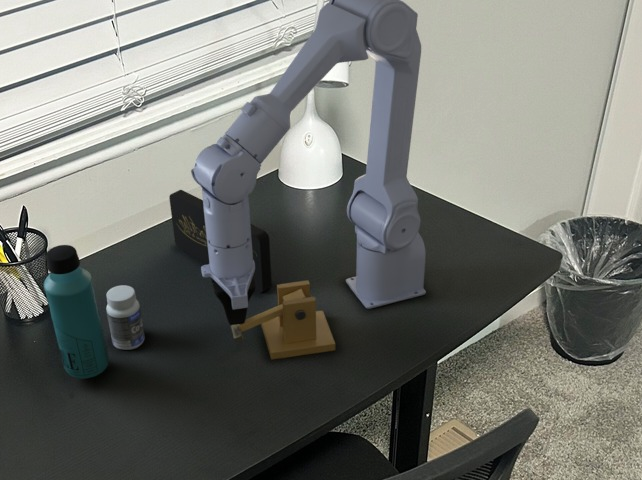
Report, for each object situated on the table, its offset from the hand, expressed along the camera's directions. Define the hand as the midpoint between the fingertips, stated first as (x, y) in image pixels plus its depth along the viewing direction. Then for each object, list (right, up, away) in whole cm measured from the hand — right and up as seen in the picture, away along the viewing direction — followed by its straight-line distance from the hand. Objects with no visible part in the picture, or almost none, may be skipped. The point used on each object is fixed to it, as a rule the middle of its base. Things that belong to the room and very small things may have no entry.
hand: (236, 321), depth 126 cm
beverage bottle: (-21, -7, +1) cm, 22 cm away
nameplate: (-2, +9, +19) cm, 21 cm away
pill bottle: (-15, -3, +6) cm, 17 cm away
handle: (+5, 0, +1) cm, 5 cm away
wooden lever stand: (+9, -2, +3) cm, 9 cm away
